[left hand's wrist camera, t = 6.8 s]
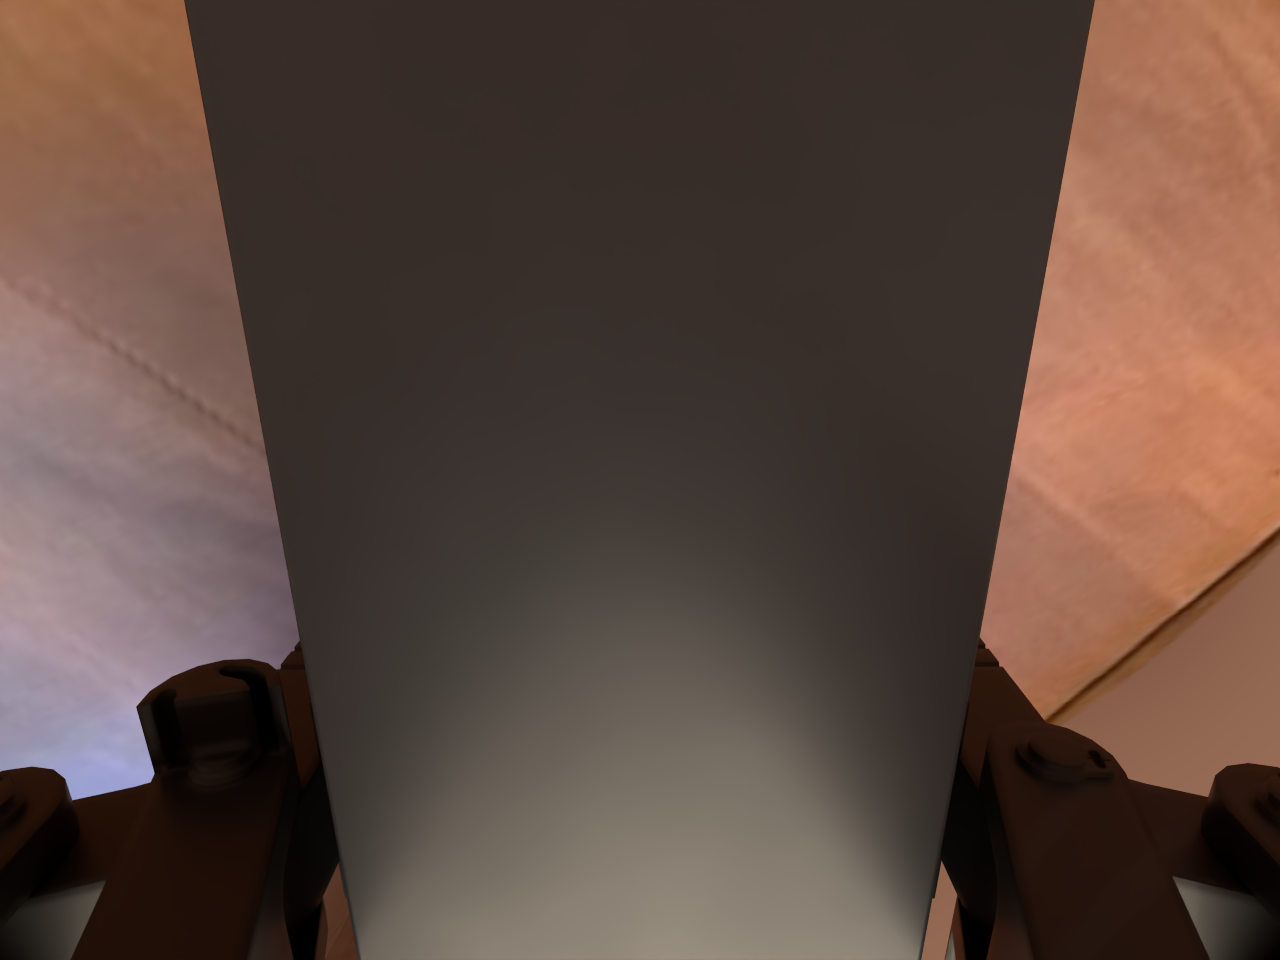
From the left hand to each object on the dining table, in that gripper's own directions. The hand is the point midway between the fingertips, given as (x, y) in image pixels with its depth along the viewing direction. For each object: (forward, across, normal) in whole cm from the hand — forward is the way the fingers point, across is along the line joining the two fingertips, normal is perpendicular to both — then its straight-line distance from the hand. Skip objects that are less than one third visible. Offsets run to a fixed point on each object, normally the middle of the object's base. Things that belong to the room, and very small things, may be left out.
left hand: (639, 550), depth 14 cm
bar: (0, 0, -8) cm, 8 cm away
